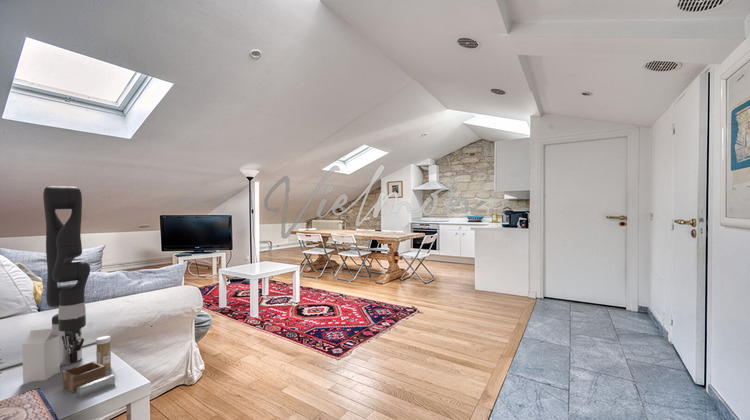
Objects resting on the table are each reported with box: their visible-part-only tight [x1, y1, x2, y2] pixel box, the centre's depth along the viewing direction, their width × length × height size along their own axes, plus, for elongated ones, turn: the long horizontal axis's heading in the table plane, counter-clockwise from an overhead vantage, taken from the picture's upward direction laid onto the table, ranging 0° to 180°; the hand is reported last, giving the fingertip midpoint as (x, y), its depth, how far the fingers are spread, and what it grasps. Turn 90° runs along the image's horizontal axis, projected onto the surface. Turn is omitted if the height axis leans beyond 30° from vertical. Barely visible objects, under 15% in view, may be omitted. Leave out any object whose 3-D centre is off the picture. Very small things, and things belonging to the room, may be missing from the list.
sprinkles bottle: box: [95, 335, 112, 371], centre depth 130 cm, size 5×5×14 cm
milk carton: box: [22, 328, 61, 385], centre depth 125 cm, size 7×7×19 cm
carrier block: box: [62, 360, 106, 394], centre depth 119 cm, size 9×9×6 cm
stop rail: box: [76, 374, 116, 400], centre depth 114 cm, size 2×10×4 cm, turn 151°
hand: (72, 362), depth 123 cm, fingers closed
